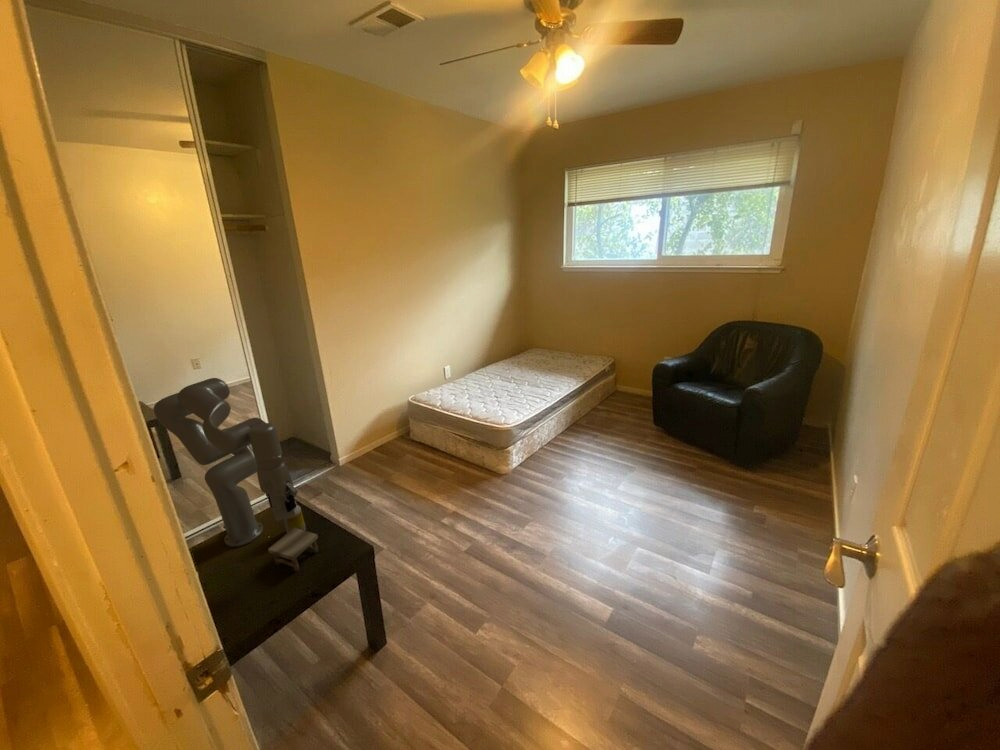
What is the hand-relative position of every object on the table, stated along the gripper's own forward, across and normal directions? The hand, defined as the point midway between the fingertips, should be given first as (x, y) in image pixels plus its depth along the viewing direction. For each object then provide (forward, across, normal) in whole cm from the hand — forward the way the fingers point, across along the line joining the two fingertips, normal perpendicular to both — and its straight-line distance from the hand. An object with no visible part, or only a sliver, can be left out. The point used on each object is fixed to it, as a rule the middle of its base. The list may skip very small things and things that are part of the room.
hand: (283, 506), depth 134 cm
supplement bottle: (+22, -11, +10) cm, 27 cm away
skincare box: (+3, 0, 0) cm, 3 cm away
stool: (+22, 0, 0) cm, 22 cm away
